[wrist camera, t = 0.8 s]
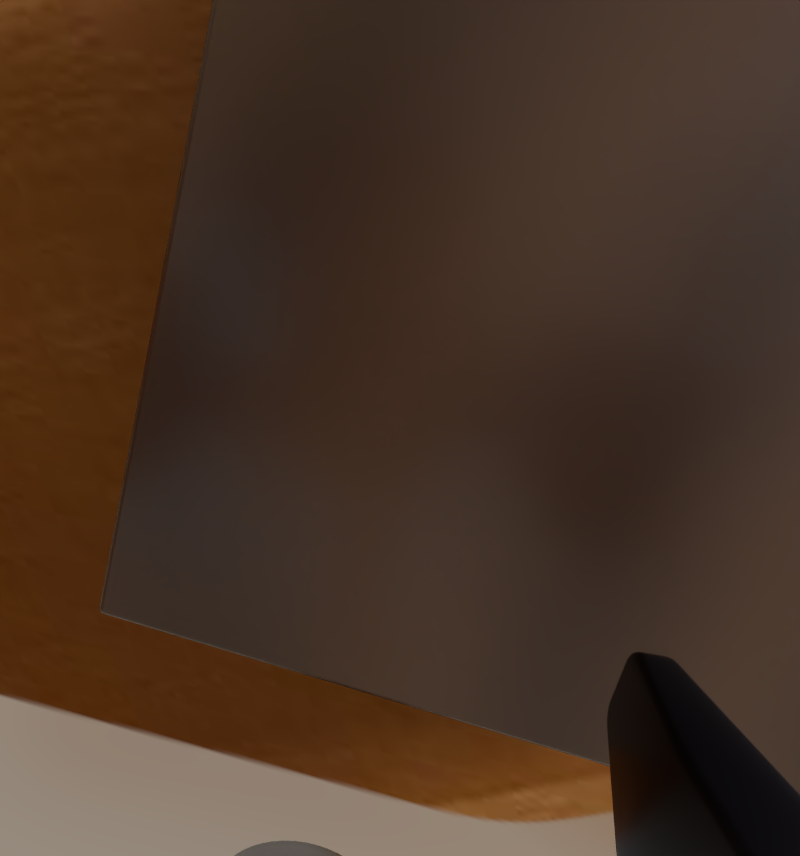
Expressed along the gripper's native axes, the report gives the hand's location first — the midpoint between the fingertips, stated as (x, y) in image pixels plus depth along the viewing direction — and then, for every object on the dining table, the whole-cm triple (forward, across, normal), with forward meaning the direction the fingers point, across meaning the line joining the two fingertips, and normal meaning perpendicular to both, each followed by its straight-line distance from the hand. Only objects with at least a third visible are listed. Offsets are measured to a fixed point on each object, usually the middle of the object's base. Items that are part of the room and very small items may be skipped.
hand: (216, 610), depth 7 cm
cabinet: (+13, -6, -1) cm, 14 cm away
